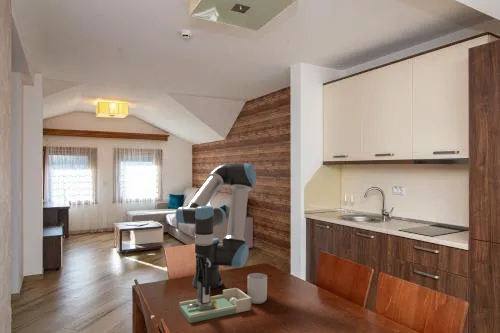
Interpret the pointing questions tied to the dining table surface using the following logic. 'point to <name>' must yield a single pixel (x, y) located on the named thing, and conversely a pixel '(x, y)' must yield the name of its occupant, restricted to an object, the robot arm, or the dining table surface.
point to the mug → (257, 288)
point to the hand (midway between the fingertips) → (203, 299)
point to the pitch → (218, 306)
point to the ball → (233, 301)
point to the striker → (199, 301)
